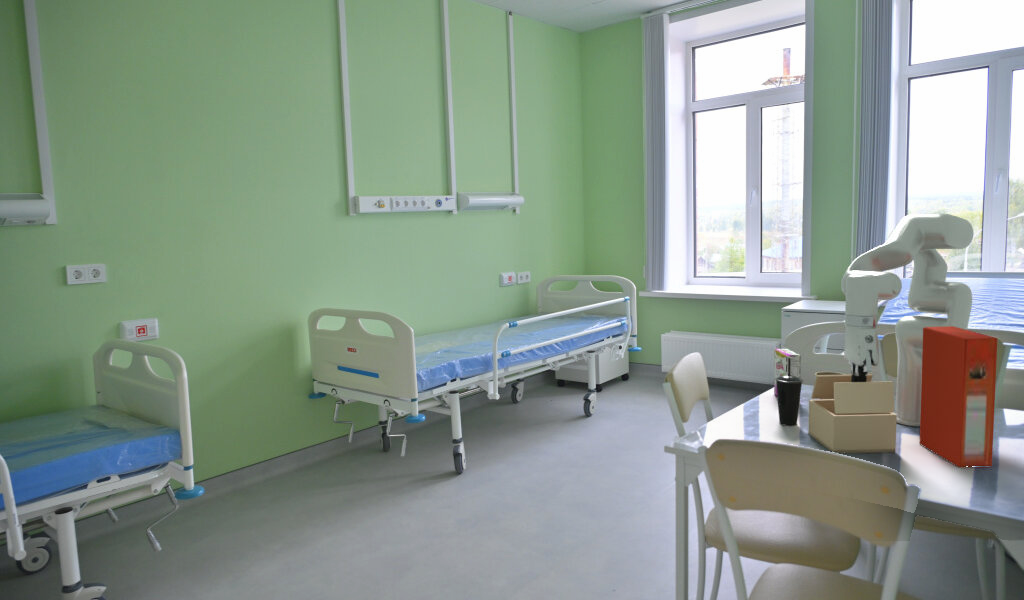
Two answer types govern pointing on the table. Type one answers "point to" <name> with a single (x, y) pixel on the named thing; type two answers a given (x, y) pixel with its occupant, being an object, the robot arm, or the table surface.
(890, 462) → the table surface
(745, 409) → the table surface
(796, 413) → the drinking cup
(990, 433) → the file binder
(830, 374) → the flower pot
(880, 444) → the carton
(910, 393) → the robot arm
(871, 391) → the flap
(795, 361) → the candy bar box
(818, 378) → the flap
